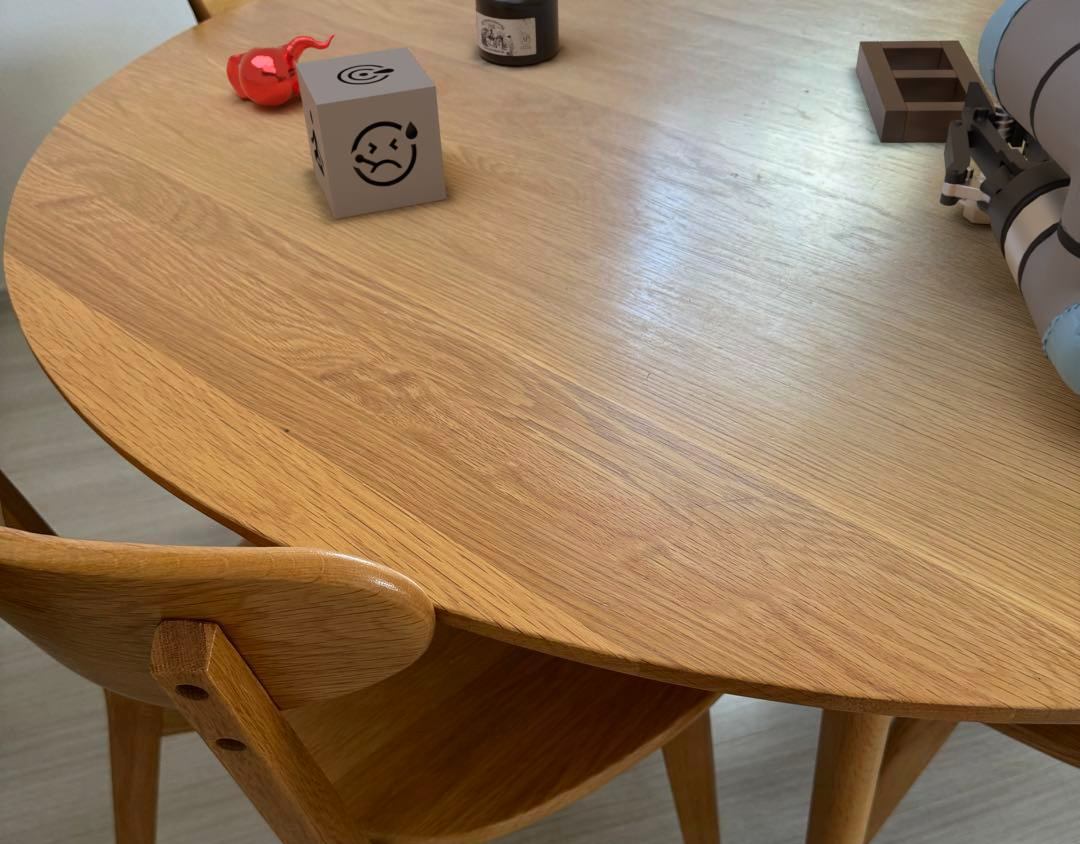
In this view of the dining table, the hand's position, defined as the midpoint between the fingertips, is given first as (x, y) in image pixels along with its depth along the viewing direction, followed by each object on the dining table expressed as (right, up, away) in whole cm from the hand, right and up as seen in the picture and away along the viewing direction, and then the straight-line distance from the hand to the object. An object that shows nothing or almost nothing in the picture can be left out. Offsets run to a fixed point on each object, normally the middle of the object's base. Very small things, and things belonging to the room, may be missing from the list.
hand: (986, 98), depth 96 cm
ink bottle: (-39, +18, +33) cm, 54 cm away
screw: (0, -10, +1) cm, 10 cm away
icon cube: (-51, -4, +10) cm, 53 cm away
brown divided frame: (+1, +7, +19) cm, 20 cm away
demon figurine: (-63, +9, +25) cm, 69 cm away
